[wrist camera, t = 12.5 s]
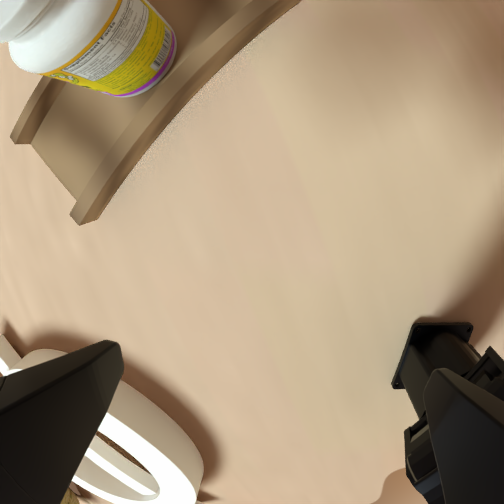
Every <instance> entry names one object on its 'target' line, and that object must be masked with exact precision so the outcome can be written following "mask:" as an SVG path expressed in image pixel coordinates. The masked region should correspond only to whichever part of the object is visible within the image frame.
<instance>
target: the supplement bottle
mask: <svg viewBox="0 0 504 504" xmlns="http://www.w3.org/2000/svg"><path fill="white" fill-rule="evenodd" d="M4 42H9V51H10V55H11V58H12V59H13V61H14V62H15V64H16V65H17V66H18V67H19V68H21V69H23V70H25V71H28V72H32V73H35V74H40V75H44V76H48V77H51V78H55V79H59V80H62V81H66V82H69V83H72V84H76V85H79V86H82V87H85V88H89V89H92V90H95V91H98V92H101V93H104V94H107V95H111V96H115V97H131V96H135V95H138V94H141V93H143V92H145V91H147V90H149V89H150V88H152V87H153V86H154V85H155V84H157V83H158V82H159V81H160V80H161V79H162V78H163V77H164V75H165V74H166V73H167V72H168V70H169V68H170V67H171V65H172V63H173V60H174V58H175V54H176V49H177V41H176V36H175V33H174V31H173V29H172V28H171V26H170V25H169V24H168V23H167V22H166V20H165V19H164V18H163V17H162V16H161V15H160V14H159V13H158V12H157V10H156V9H155V8H154V7H153V6H152V5H151V4H150V3H149V2H148V1H147V0H0V43H4Z"/></svg>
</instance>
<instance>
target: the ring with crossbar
mask: <svg viewBox="0 0 504 504" xmlns="http://www.w3.org/2000/svg"><path fill="white" fill-rule="evenodd" d="M66 354H68V353H66V352H63V351H58V350H53V349H38V350H34V351H32V352H30V353H28V354H27V355H26V356H25V357H23V358H22V359H21V357H20V356H19V355H18V354H17V352H16V351H15V350H14V349H13V347H12V346H11V345H10V343H9V342H8V341H7V339H6V338H5V337H4V335H3V334H2V335H1V336H0V372H1V373H2V374H3V375H4V376H7V375H9V374H12V373H14V372H17V371H20V370H23V369H26V368H29V367H32V366H35V365H38V364H40V363H43V362H46V361H49V360H52V359H54V358H57V357H60V356H63V355H66ZM98 431H100V432H101V433H103V434H104V435H105V436H107V437H108V438H110V439H111V440H113V441H114V442H115V443H117V444H118V445H119V446H121V447H122V448H123V449H125V450H126V451H127V452H128V453H130V454H131V455H132V456H133V457H134V458H136V459H137V460H138V461H139V462H140V463H141V464H142V465H143V466H144V467H145V468H146V469H147V470H148V471H149V472H150V473H151V474H152V475H153V476H152V475H150V474H149V473H147V472H146V471H144V470H143V469H141V468H140V467H138V466H137V465H135V464H134V463H132V462H131V461H129V460H128V459H127V458H125V457H124V456H122V455H121V454H120V453H118V452H117V451H116V450H114V449H113V448H112V447H110V446H109V445H108V444H106V443H105V442H104V441H103V440H101V439H100V438H99V437H98V436H96V435H95V436H94V438H93V440H92V442H91V443H90V445H89V447H88V449H87V451H86V453H85V455H84V457H83V459H82V461H81V463H80V465H79V467H78V469H77V471H76V473H75V475H74V477H73V479H72V481H73V482H75V483H76V484H78V485H79V486H81V487H83V488H84V489H86V490H88V491H89V492H91V493H93V494H95V495H97V496H99V497H101V498H103V499H105V500H108V501H110V502H112V503H115V504H204V503H202V502H200V501H198V500H196V499H197V495H198V492H199V488H200V484H201V481H202V477H203V473H204V465H203V460H202V457H201V455H200V453H199V451H198V449H197V448H196V446H195V444H194V443H193V442H192V440H191V439H190V438H189V436H188V435H187V434H186V433H185V432H184V431H183V429H182V428H181V427H180V426H179V425H178V424H177V423H176V422H175V421H174V420H173V419H172V418H171V417H169V416H168V415H167V414H166V413H165V412H164V411H163V410H161V409H160V408H159V407H158V406H157V405H155V404H154V403H153V402H152V401H150V400H149V399H148V398H147V397H145V396H144V395H143V394H141V393H140V392H138V391H137V390H136V389H134V388H133V387H131V386H130V385H128V384H127V383H125V382H124V381H122V380H121V379H120V382H119V384H118V386H117V389H116V391H115V394H114V396H113V399H112V401H111V404H110V406H109V409H108V411H107V413H106V415H105V417H104V419H103V421H102V423H101V425H100V426H99V428H98Z"/></svg>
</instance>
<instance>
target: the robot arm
mask: <svg viewBox="0 0 504 504" xmlns="http://www.w3.org/2000/svg"><path fill="white" fill-rule="evenodd" d="M417 328H419V329H418V330H417V331H416V329H417ZM472 330H473V326H472V324H470V323H415V324H414V325H413V326H412V327H411V330H410V333H409V336H408V339H407V342H406V345H405V348H404V351H403V354H402V356H401V359H400V362H399V365H398V367H397V370H396V372H395V375H394V377H393V380H392V382H391V385H392V387H393V389H406V391H407V393H408V395H409V397H410V400H411V402H412V404H413V406H414V409H415V411H416V413H417V415H418V418H419V421H417V422H416V423H415V424H414V425H413V426H411V427H409V428H407V429H406V430H405V431H404V439H405V462H406V475H407V477H408V478H409V480H410V482H411V483H412V485H413V486H414V487H415V489H416V490H417V491H418V492H420V493H421V494H422V495H423V496H424V498H425V499H426V501H427V502H428V504H504V360H503V359H502V358H501V357H500V356H499V355H498V354H497V353H496V351H495V350H494V349H493V348H492V347H491V346H489V347H488V349H487V350H486V351H485V352H486V353H485V354H484V355H483V356H482V357H481V356H480V354H479V353H478V352H477V351H476V350H475V349H474V347H473V346H472V345H471V344H469V343H468V341H469V338H470V336H471V333H472ZM123 371H124V363H123V358H122V353H121V348H120V345H119V343H117V342H114V341H110V340H103V341H101V342H98V343H95V344H93V345H90V346H87V347H85V348H82V349H79V350H76V351H74V352H71V353H68V354H66V355H63V356H60V357H57V358H54V359H52V360H49V361H46V362H43V363H40V364H38V365H35V366H32V367H29V368H26V369H23V370H20V371H17V372H14V373H12V374H9V375H7V376H2V377H0V504H61V502H62V500H63V498H64V495H65V493H66V491H67V489H68V487H69V485H70V483H71V481H72V479H73V477H74V475H75V473H76V471H77V469H78V467H79V465H80V463H81V461H82V459H83V457H84V455H85V453H86V451H87V449H88V447H89V445H90V443H91V442H92V440H93V438H94V436H95V434H96V432H97V430H98V428H99V426H100V425H101V423H102V421H103V419H104V417H105V415H106V413H107V411H108V409H109V406H110V404H111V401H112V399H113V396H114V394H115V391H116V389H117V386H118V384H119V382H120V379H121V377H122V374H123ZM397 383H398V384H397Z"/></svg>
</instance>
